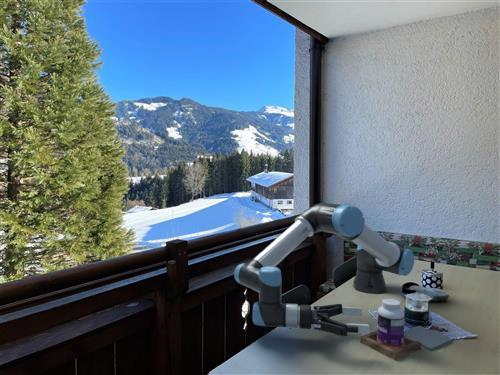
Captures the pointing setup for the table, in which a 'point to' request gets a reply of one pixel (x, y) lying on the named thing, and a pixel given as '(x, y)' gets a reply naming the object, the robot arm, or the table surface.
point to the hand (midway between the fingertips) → (365, 320)
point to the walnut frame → (394, 354)
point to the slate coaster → (427, 337)
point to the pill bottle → (390, 324)
